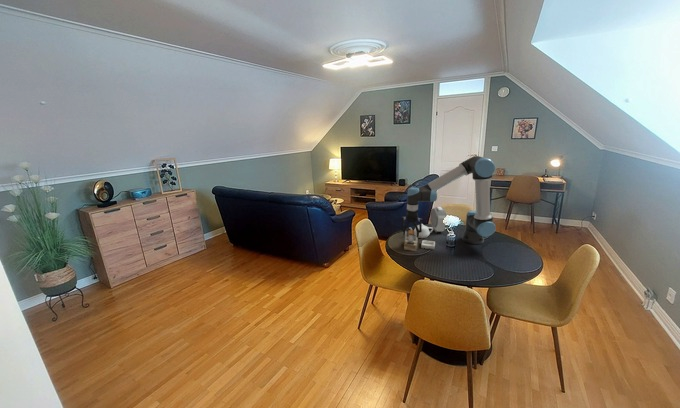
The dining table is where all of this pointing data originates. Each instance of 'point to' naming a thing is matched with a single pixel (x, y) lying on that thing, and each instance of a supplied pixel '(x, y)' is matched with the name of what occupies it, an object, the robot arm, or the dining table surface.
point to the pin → (410, 236)
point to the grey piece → (438, 219)
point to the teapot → (423, 231)
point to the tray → (428, 244)
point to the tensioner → (410, 245)
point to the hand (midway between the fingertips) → (410, 240)
